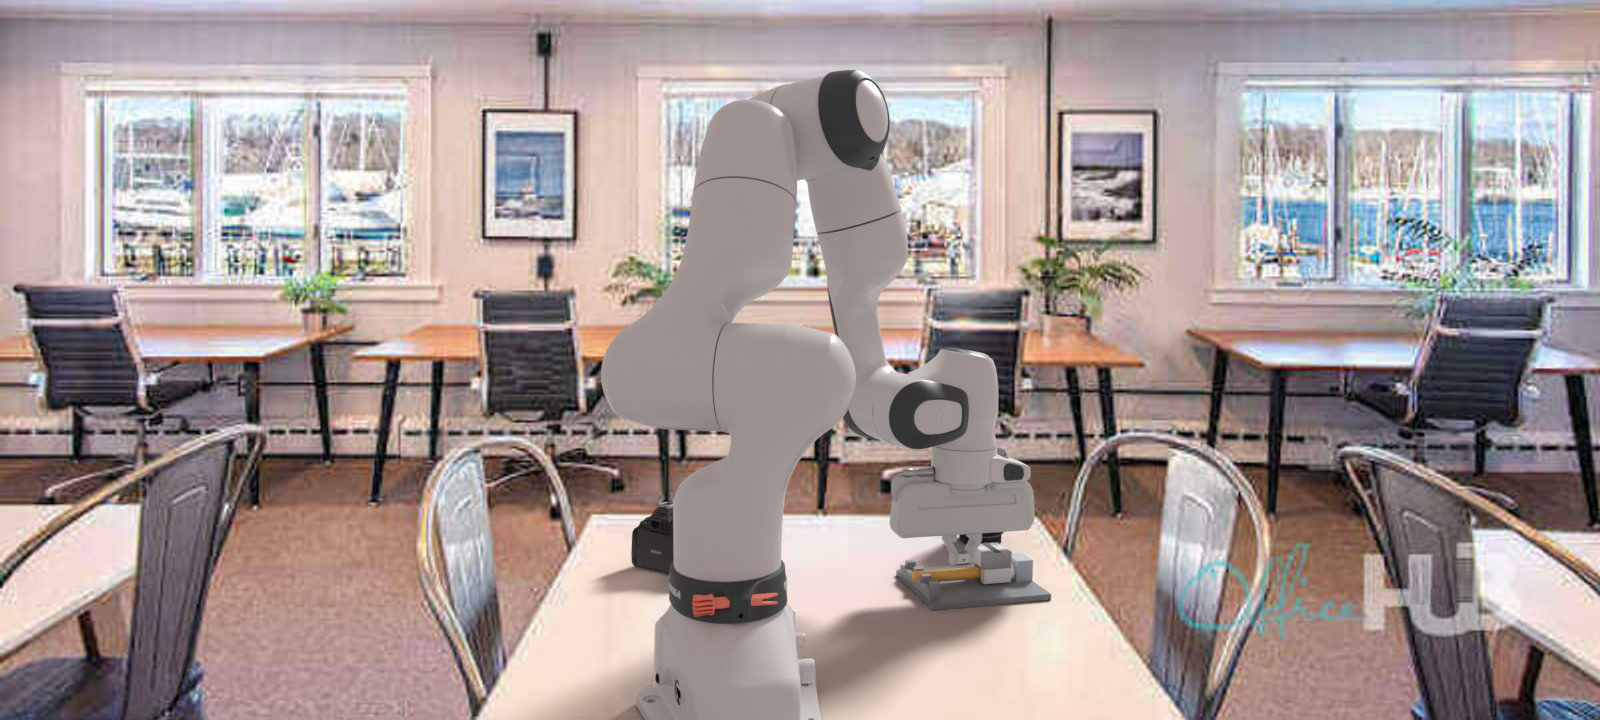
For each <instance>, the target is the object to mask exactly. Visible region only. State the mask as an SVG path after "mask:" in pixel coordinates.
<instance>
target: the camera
mask: <svg viewBox="0 0 1600 720" xmlns="http://www.w3.org/2000/svg"><path fill="white" fill-rule="evenodd" d="M630 556H631V558H630V559H631V560H630V561H631V563H632V566H634V567H635V568H639V569H643V570H648V571H653V572H657V573H661V574H665V575H669V572H670V565H671V564H672V563H673V562H674V555H673V501H670V502H669V501H668V502H667V501H665V502H662V503H659V504H658V507H657V508H655V509H654V510H653V511H652V514H651V515H649V516H646V517H645V518H644V519H643V520H641V521H640V522H639V523H638V526H636V527H635V528H633V530H632V532H631V555H630Z"/></svg>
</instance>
